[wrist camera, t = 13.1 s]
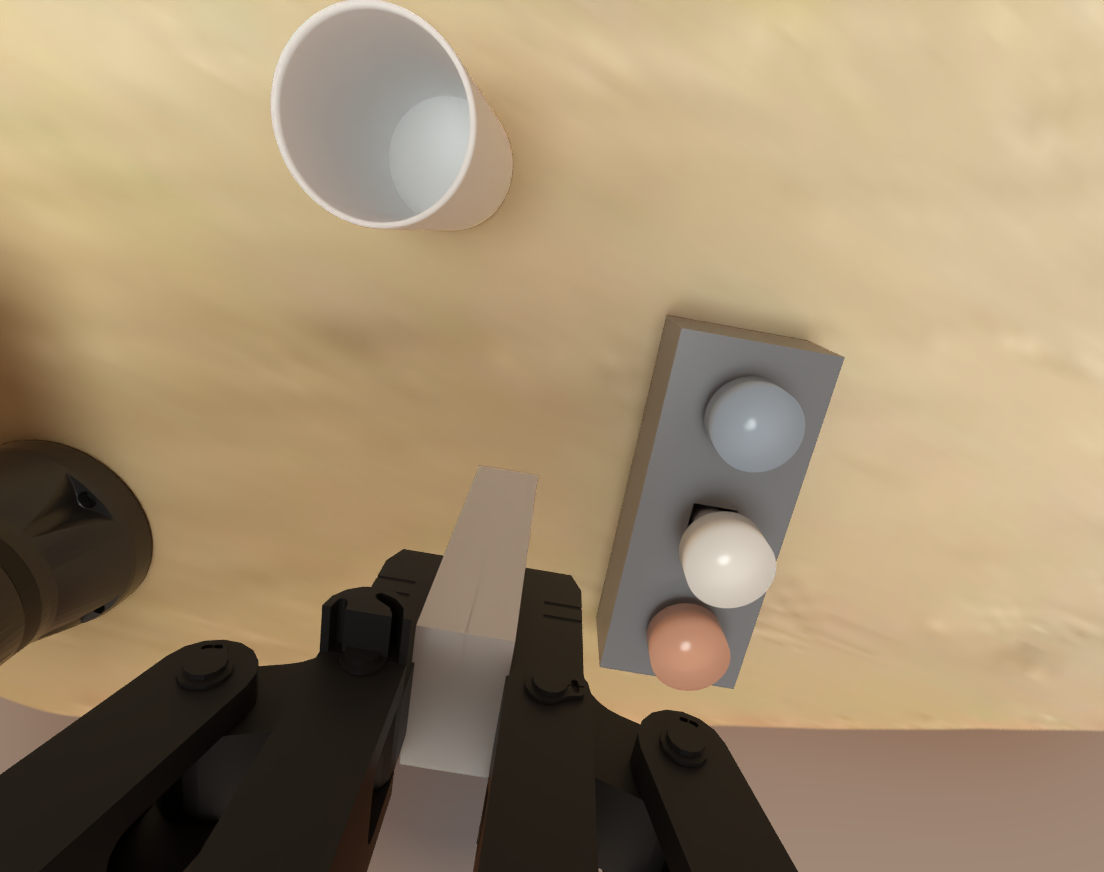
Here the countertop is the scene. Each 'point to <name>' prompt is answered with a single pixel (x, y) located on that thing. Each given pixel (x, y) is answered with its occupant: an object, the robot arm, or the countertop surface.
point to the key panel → (701, 479)
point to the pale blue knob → (754, 424)
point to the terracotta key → (687, 647)
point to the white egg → (725, 558)
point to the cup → (387, 122)
